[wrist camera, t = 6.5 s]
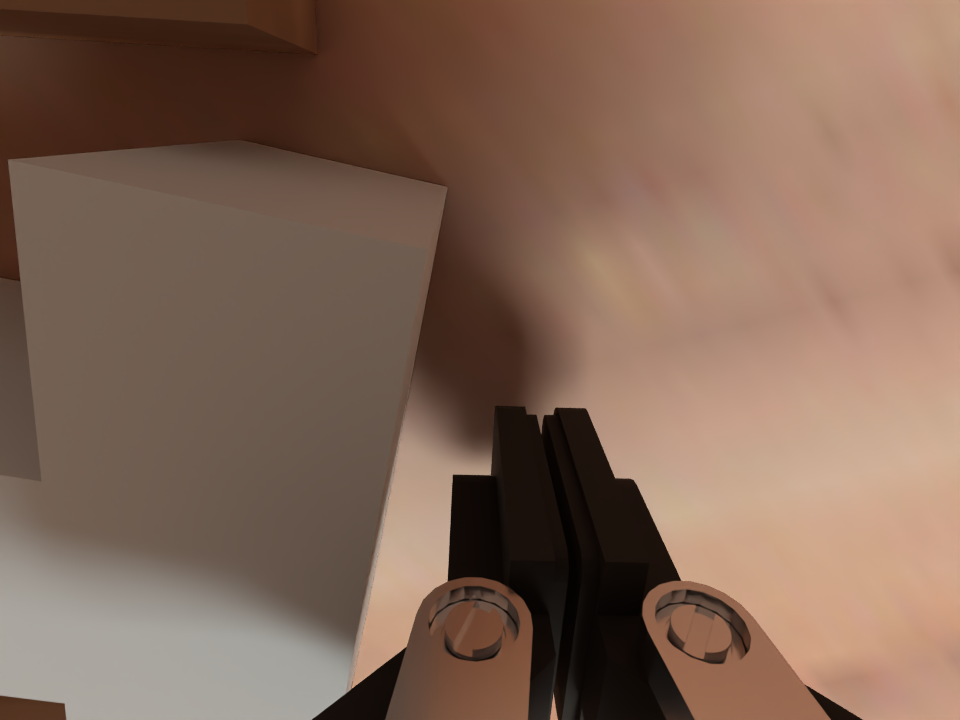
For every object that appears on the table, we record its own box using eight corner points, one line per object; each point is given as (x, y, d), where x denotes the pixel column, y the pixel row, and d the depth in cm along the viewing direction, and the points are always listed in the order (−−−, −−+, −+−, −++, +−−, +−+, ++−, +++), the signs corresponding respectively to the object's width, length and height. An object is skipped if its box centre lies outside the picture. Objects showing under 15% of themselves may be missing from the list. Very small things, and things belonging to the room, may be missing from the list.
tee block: (-195, 41, 9) (-970, -51, 4) (447, 186, 10) (428, 249, 5) (-83, 545, 12) (-410, 797, 8) (367, 611, 13) (313, 869, 9)
